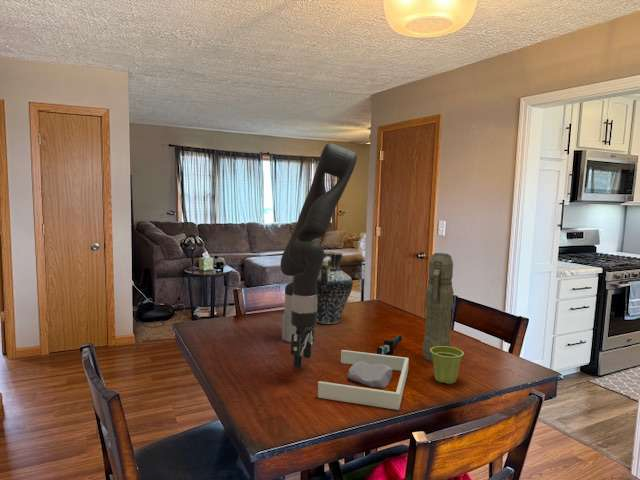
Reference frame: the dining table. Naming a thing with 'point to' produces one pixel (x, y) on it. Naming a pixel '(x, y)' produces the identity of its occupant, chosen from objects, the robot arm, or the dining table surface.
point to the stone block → (370, 374)
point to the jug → (332, 289)
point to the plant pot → (446, 363)
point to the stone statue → (438, 303)
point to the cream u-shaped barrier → (367, 394)
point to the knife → (389, 346)
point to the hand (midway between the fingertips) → (302, 362)
